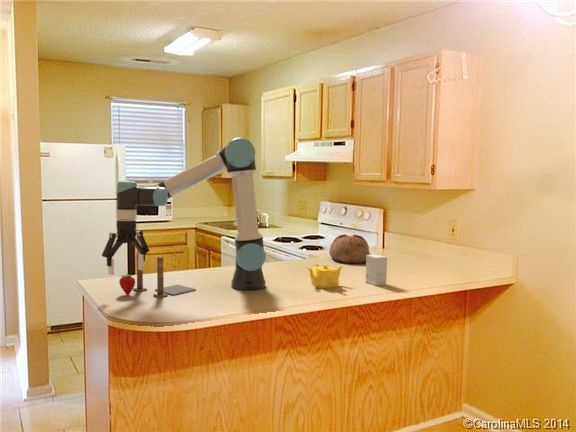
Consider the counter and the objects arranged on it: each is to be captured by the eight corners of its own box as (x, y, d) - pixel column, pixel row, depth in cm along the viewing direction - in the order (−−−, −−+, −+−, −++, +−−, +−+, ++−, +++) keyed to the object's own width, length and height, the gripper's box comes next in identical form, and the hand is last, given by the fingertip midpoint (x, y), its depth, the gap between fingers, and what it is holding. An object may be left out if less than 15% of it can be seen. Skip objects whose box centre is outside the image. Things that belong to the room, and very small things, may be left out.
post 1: (146, 290, 211) (146, 253, 210) (138, 292, 208) (138, 254, 207) (141, 288, 214) (140, 251, 212) (133, 290, 211) (132, 253, 209)
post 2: (167, 296, 203) (167, 257, 201) (159, 298, 200) (159, 258, 198) (161, 294, 205) (161, 256, 204) (153, 296, 202) (153, 257, 201)
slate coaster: (195, 290, 213) (195, 289, 213) (173, 295, 204) (173, 294, 204) (177, 285, 220) (177, 284, 220) (155, 290, 211) (155, 289, 211)
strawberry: (124, 297, 199) (124, 273, 198) (116, 294, 204) (116, 270, 203) (138, 295, 203) (138, 271, 202) (130, 291, 208) (130, 268, 207)
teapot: (314, 280, 236) (315, 260, 235) (343, 283, 231) (344, 263, 230) (304, 287, 223) (305, 266, 222) (335, 291, 218) (336, 269, 217)
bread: (372, 265, 279) (373, 238, 277) (331, 264, 279) (331, 237, 278) (366, 256, 305) (367, 232, 304) (328, 255, 305) (328, 231, 304)
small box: (386, 284, 231) (387, 257, 230) (375, 286, 228) (376, 257, 227) (376, 281, 238) (377, 254, 237) (365, 282, 235) (366, 254, 234)
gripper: (147, 217, 212) (146, 266, 214) (92, 220, 193) (92, 274, 195) (158, 218, 207) (157, 269, 209) (103, 222, 188) (103, 278, 190)
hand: (126, 272), depth 202 cm, fingers open, 13 cm apart
